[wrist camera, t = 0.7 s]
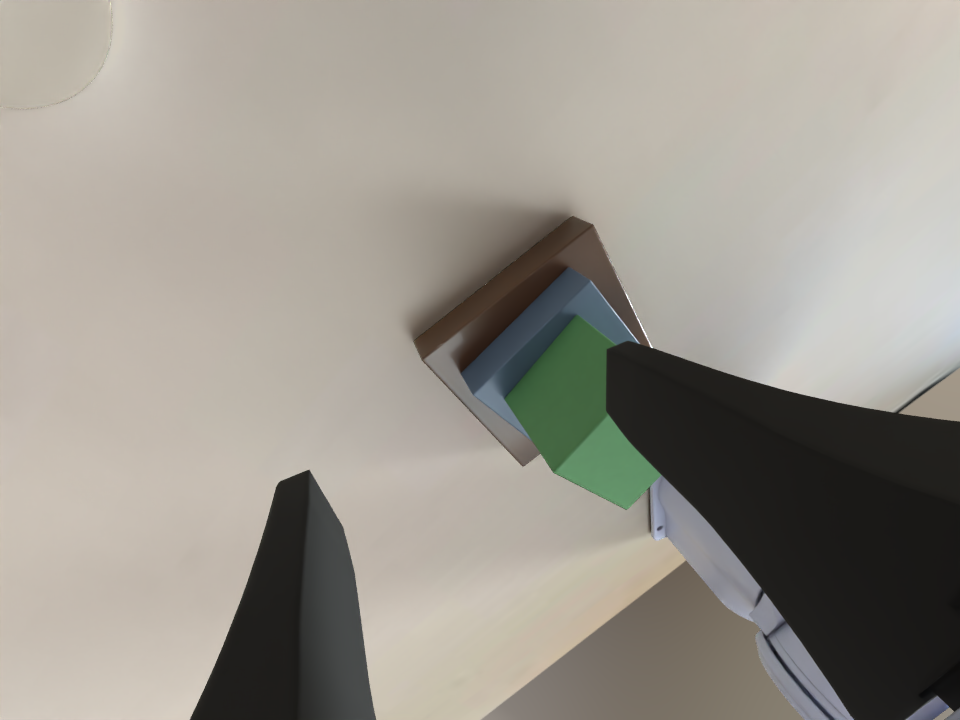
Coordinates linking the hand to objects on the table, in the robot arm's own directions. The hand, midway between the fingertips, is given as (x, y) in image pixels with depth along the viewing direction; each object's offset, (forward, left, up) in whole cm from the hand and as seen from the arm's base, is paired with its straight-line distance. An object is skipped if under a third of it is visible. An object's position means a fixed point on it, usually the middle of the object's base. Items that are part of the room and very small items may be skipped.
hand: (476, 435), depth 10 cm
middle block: (-5, -5, -9) cm, 11 cm away
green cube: (-5, -5, -7) cm, 10 cm away
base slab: (-5, -5, -10) cm, 13 cm away
